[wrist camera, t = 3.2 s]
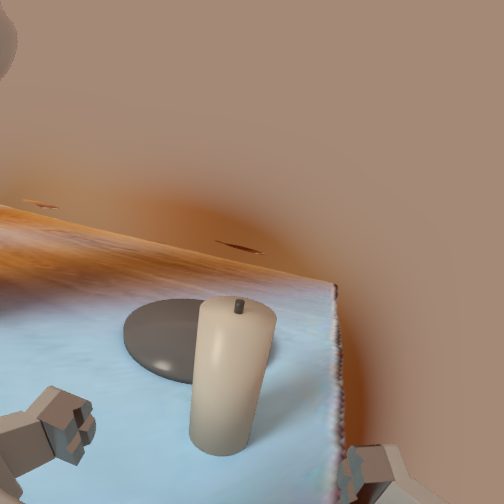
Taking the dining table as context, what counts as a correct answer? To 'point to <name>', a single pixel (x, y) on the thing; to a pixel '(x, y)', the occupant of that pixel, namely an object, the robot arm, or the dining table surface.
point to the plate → (164, 337)
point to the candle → (228, 372)
